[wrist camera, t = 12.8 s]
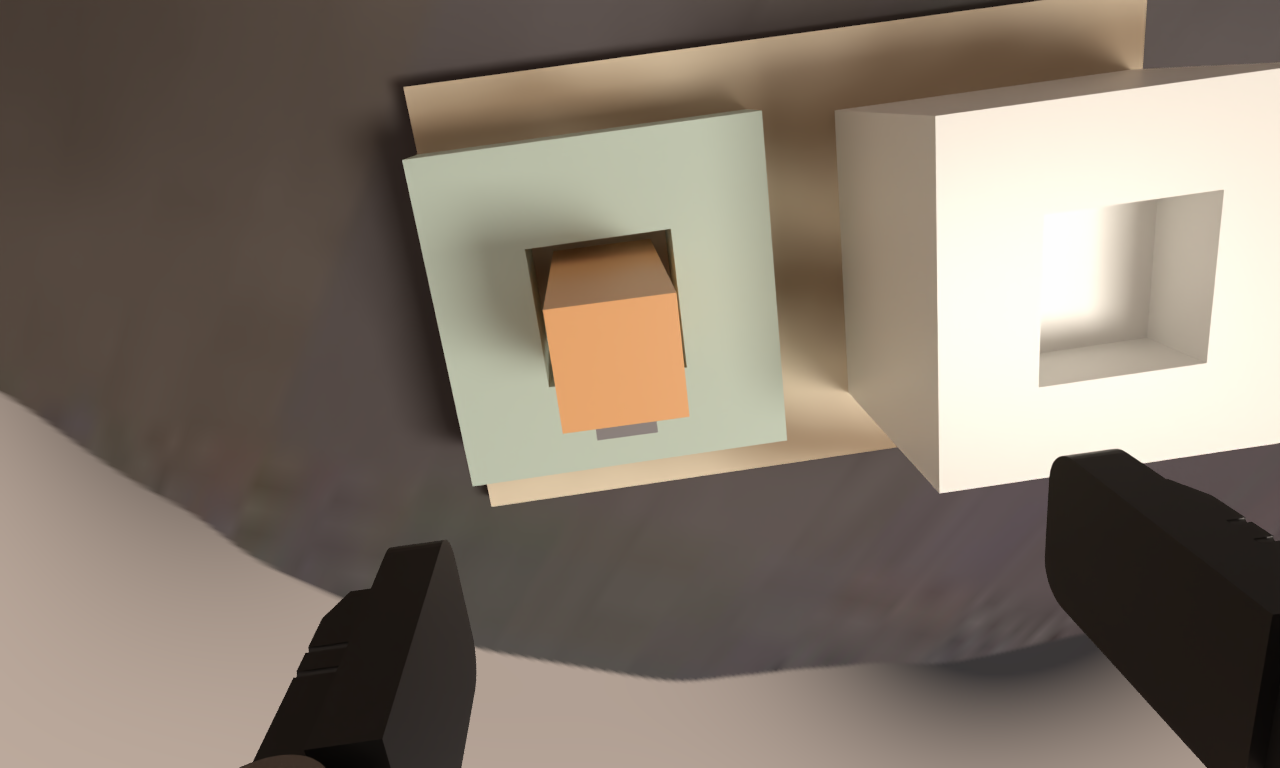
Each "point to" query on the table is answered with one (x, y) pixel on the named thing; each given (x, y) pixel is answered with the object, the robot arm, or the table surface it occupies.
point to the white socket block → (1065, 269)
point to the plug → (614, 340)
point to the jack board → (779, 169)
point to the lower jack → (587, 210)
